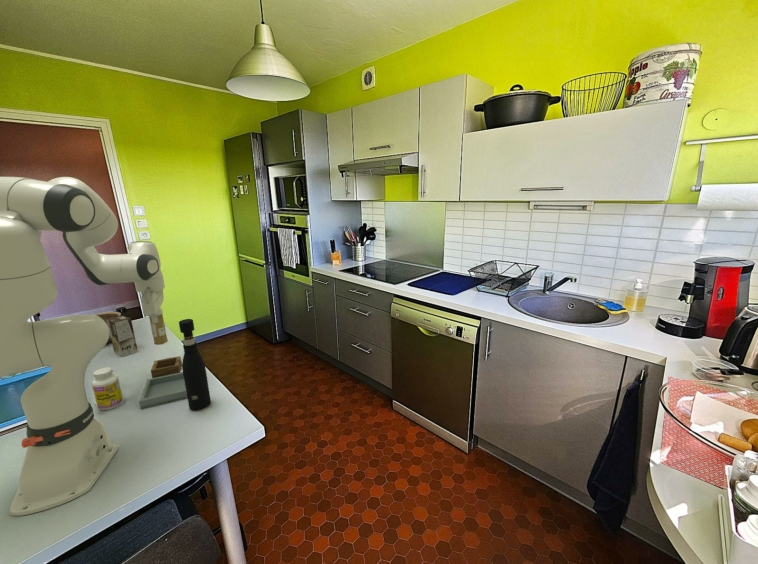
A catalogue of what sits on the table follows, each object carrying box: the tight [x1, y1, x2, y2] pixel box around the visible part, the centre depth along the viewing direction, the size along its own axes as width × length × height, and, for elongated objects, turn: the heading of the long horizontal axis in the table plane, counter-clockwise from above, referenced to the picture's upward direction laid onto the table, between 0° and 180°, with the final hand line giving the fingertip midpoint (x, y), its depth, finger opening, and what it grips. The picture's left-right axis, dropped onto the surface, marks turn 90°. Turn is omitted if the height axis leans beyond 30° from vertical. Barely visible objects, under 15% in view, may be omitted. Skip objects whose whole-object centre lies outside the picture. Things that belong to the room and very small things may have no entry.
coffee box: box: [107, 314, 139, 357], centre depth 145 cm, size 9×6×16 cm
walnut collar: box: [150, 355, 183, 379], centre depth 128 cm, size 9×9×4 cm
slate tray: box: [138, 371, 188, 410], centre depth 115 cm, size 15×15×3 cm
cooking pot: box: [93, 311, 122, 343], centre depth 157 cm, size 25×19×12 cm
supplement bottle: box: [91, 366, 124, 411], centre depth 107 cm, size 7×7×13 cm
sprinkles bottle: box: [148, 307, 169, 346], centre depth 123 cm, size 5×5×13 cm
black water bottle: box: [178, 318, 212, 412], centre depth 104 cm, size 6×6×30 cm
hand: (156, 320), depth 122 cm, fingers closed on sprinkles bottle, 4 cm apart
